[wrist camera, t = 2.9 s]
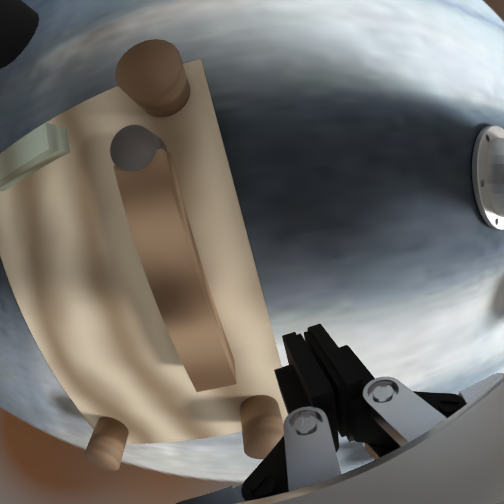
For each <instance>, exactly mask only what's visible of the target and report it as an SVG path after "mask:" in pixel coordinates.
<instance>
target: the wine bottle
mask: <svg viewBox="0 0 504 504" xmlns="http://www.w3.org/2000/svg"><path fill="white" fill-rule="evenodd" d="M38 21H39V17H38V14H37V13H36V12H35V11H34V10H32V9H31V8H30V7H29V6H28V5H26V4H25V3H24V2H23V1H21V0H0V68H3V67H5V66H7V65H8V64H9V63H11V62H12V61H13V60H14V59H15V58H16V57H17V56H18V55H19V54H20V53H21V52H22V51H23V50H24V48H25V47H26V46H27V44H28V43H29V41H30V40H31V38H32V36H33V35H34V33H35V30H36V28H37V26H38Z"/></svg>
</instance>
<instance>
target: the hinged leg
mask: <svg viewBox="0 0 504 504" xmlns="http://www.w3.org/2000/svg"><path fill="white" fill-rule="evenodd" d="M110 155H111V159H112V161H113V163H114V164H115V165H114V166H113V167H114V171H115V175H116V179H117V183H118V187H119V191H120V195H121V198H122V202H123V206H124V209H125V213H126V216H127V220H128V223H129V226H130V230H131V233H132V236H133V239H134V242H135V245H136V248H137V251H138V254H139V257H140V260H141V263H142V266H143V269H144V272H145V274H146V277H147V280H148V283H149V285H150V288H151V291H152V293H153V296H154V299H155V301H156V304H157V306H158V309H159V311H160V314H161V316H162V318H163V321H164V323H165V326H166V328H167V330H168V333H169V335H170V337H171V339H172V342H173V344H174V346H175V348H176V351H177V353H178V355H179V357H180V359H181V361H182V364H183V366H184V368H185V370H186V372H187V374H188V376H189V378H190V380H191V382H192V384H193V386H194V388H195V390H196V392H201V391H206V390H211V389H216V388H221V387H226V386H230V385H235V384H237V382H236V371H235V360H234V358H233V355H232V352H231V349H230V347H229V344H228V341H227V338H226V335H225V332H224V330H223V327H222V324H221V321H220V318H219V315H218V312H217V309H216V306H215V303H214V300H213V297H212V294H211V291H210V288H209V285H208V282H207V279H206V276H205V273H204V270H203V266H202V263H201V260H200V257H199V254H198V250H197V247H196V244H195V240H194V237H193V234H192V230H191V227H190V223H189V220H188V216H187V213H186V209H185V206H184V202H183V199H182V195H181V191H180V188H179V184H178V180H177V177H176V173H175V169H174V165H173V161H172V157H171V154H170V153H168V152H167V150H166V146H165V144H164V142H163V141H162V140H161V139H160V138H159V137H157V136H156V135H155V134H153V133H152V132H150V131H149V130H148V129H146V128H145V127H143V126H140V125H129V126H126V127H124V128H122V129H121V130H120V131H118V132H117V133H116V135H115V136H114V138H113V140H112V142H111V146H110Z"/></svg>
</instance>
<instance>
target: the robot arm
mask: <svg viewBox="0 0 504 504" xmlns="http://www.w3.org/2000/svg"><path fill="white" fill-rule="evenodd" d="M472 180H473V188H474V194H475V198H476V202H477V206H478V208H479V211H480V213H481V215H482V217H483V219H484V221H485V222H486V223H487V224H488V225H489V226H490V227H492V228H495V229H498V230H504V129H502V128H501V127H499V126H487V127H485V128H483V129H482V130H481V131H480V133H479V135H478V136H477V139H476V142H475V145H474V150H473V157H472ZM304 337H305V340H304V338H303V337H302V335H301V334H298V335H296V333H295V332H293V333H290V334H287V335H283V336H282V338H283V342H284V346H285V350H286V354H287V358H288V363H289V365H288V366H285V367H282V368H278V369H275V370H274V372H275V375H276V379H277V382H278V386H279V389H280V392H281V395H282V398H283V401H284V404H285V407H286V410H287V413H288V416H287V417H286V419H285V420H284V425H283V429H284V436H283V437H282V438H281V439H280V441H279V442H278V443H277V444H276V446H275V447H274V448H273V449H272V450H271V452H270V453H269V454H268V455H267V456H266V458H265V459H264V460H263V461H262V462H261V463H260V464H259V466H258V467H257V468H256V469H255V470H254V471H253V472H252V473H251V475H250V476H249V477H248V478H247V479H246V480H245V482H244V483H243V485H240V486H237V487H235V488H233V487H232V486H230V487H228V488H225V489H222V490H219V491H215V492H212V493H209V494H206V495H202V496H199V497H195V498H191V499H188V500H184V501H181V502H179V503H176V504H504V374H503V373H497V374H494V375H492V376H490V377H488V378H486V379H484V380H482V381H480V382H478V383H476V384H474V385H472V386H470V387H468V388H466V389H464V390H461V391H460V392H459V394H458V395H456V394H450V393H429V392H415V391H411V390H410V389H409V388H408V387H406V386H405V385H404V384H402V383H401V382H400V381H399V380H397V379H395V378H392V377H379V378H376V379H375V378H374V377H373V376H372V374H371V373H370V372H369V371H368V369H367V368H366V367H365V366H364V365H363V363H362V362H361V361H360V360H359V358H358V357H357V356H356V355H355V354H354V352H353V351H352V350H351V349H350V347H349V346H347V345H345V346H342V347H340V348H339V347H338V346H337V345H336V343H335V342H334V341H333V339H332V338H331V337H330V336H329V334H328V333H327V332H326V330H325V329H324V328H323V326H322V325H321V324H317V325H314V326H311V327H308V331H307V332H304ZM338 431H339V433H340V435H341V437H344V436H347V438H348V440H349V442H350V441H353V440H355V441H357V442H362V444H363V446H364V448H365V449H366V450H367V451H368V453H369V454H370V455H371V456H372V457H373V458H374V459H375V460H374V461H372V462H370V463H368V464H365V465H363V466H361V467H358V468H356V469H354V470H351V471H349V472H346V473H344V474H341V471H340V467H339V463H338V459H337V455H336V452H337V450H338V449H339V439H338Z"/></svg>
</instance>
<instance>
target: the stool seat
mask: <svg viewBox="0 0 504 504" xmlns="http://www.w3.org/2000/svg"><path fill="white" fill-rule="evenodd" d="M116 81H117V84H118V86H117V87H114V88H112V89H110V90H107V91H105V92H103V93H101V94H98V95H96V96H94V97H92V98H90V99H88V100H86V101H84V102H82V103H80V104H78V105H76V106H74V107H72V108H70V109H69V110H67V111H65V112H63V113H61V114H59V115H58V116H56V117H54V118H53V119H51V120H49V121H47V122H45V123H44V124H42V125H40V126H39V127H37V128H36V129H34V130H33V131H31V132H30V133H28V134H27V135H25V136H24V137H22V138H21V139H19V140H18V141H16V142H15V143H14V144H12V145H11V146H9V147H8V148H7V149H5V150H4V151H3V152H1V153H0V256H1V259H2V262H3V265H4V268H5V271H6V274H7V277H8V280H9V283H10V285H11V288H12V290H13V293H14V295H15V298H16V300H17V303H18V305H19V307H20V310H21V312H22V314H23V316H24V319H25V321H26V323H27V325H28V327H29V329H30V331H31V333H32V335H33V337H34V339H35V341H36V343H37V345H38V347H39V348H40V350H41V352H42V354H43V356H44V357H45V359H46V361H47V363H48V364H49V366H50V368H51V369H52V371H53V373H54V374H55V376H56V377H57V379H58V381H59V382H60V384H61V385H62V387H63V388H64V390H65V391H66V393H67V394H68V396H69V397H70V398H71V400H72V401H73V403H74V404H75V405H76V407H77V408H78V409H79V411H80V412H81V413H82V415H83V416H84V417H85V419H86V420H87V421H88V422H89V424H90V425H91V426H92V427H93V429H94V431H93V434H92V436H91V439H90V441H89V444H88V446H87V449H86V451H85V456H86V458H87V459H88V460H89V461H90V462H92V463H93V464H94V465H96V466H98V467H100V468H103V469H106V470H110V471H115V470H118V469H119V467H120V463H121V459H122V455H123V452H124V448H125V445H126V444H143V443H162V442H175V441H185V440H193V439H201V438H208V437H215V436H221V435H227V434H232V433H238V432H242V435H243V444H244V451H245V453H246V455H248V456H249V457H251V458H255V459H265V458H266V456H267V455H268V454H269V453H270V452H271V450H272V449H273V448H274V447H275V446H276V444H277V443H278V442H279V441H280V439H281V438H282V437H283V436H284V429H283V425H284V424H283V422H284V420H285V419H286V417H287V416H288V413H287V410H286V407H285V404H284V401H283V398H282V395H281V392H280V389H279V386H278V382H277V379H276V375H275V372H274V370H275V369H278V368H282V366H281V362H280V358H279V354H278V350H277V347H276V343H275V339H274V335H273V331H272V328H271V324H270V320H269V316H268V312H267V308H266V305H265V301H264V297H263V293H262V289H261V286H260V282H259V278H258V274H257V270H256V267H255V263H254V259H253V255H252V251H251V248H250V244H249V240H248V236H247V232H246V229H245V225H244V221H243V217H242V213H241V210H240V206H239V202H238V198H237V194H236V190H235V187H234V183H233V179H232V175H231V171H230V168H229V164H228V160H227V156H226V152H225V149H224V145H223V141H222V137H221V133H220V129H219V126H218V122H217V118H216V114H215V110H214V107H213V103H212V99H211V95H210V91H209V88H208V84H207V80H206V76H205V72H204V68H203V65H202V61H201V59H198V60H194V61H190V62H186V63H183V64H182V61H181V58H180V55H179V52H178V50H177V49H176V47H175V46H174V45H172V44H171V43H169V42H167V41H164V40H147V41H144V42H141V43H139V44H137V45H135V46H133V47H132V48H131V49H129V50H128V51H127V52H126V53H125V54H124V55H123V56H122V58H121V59H120V61H119V63H118V66H117V69H116ZM129 125H140V126H143V127H145V128H146V129H148V130H149V131H150V132H152V133H153V134H155V135H156V136H157V137H159V138H160V139H161V140H162V141H163V142H164V144H165V146H166V150H167V152H168V153H170V154H171V157H172V161H173V165H174V169H175V173H176V177H177V180H178V184H179V188H180V191H181V195H182V199H183V202H184V206H185V209H186V213H187V216H188V220H189V223H190V227H191V230H192V234H193V237H194V240H195V244H196V247H197V250H198V254H199V257H200V260H201V263H202V266H203V270H204V273H205V276H206V279H207V282H208V285H209V288H210V291H211V294H212V297H213V300H214V303H215V306H216V309H217V312H218V315H219V318H220V321H221V324H222V327H223V330H224V332H225V335H226V338H227V341H228V344H229V347H230V349H231V352H232V355H233V358H234V360H235V371H236V382H237V384H235V385H230V386H226V387H221V388H216V389H211V390H206V391H201V392H196V390H195V388H194V386H193V384H192V382H191V380H190V378H189V376H188V374H187V372H186V370H185V368H184V366H183V364H182V361H181V359H180V357H179V355H178V353H177V351H176V348H175V346H174V344H173V342H172V339H171V337H170V335H169V333H168V330H167V328H166V326H165V323H164V321H163V318H162V316H161V314H160V311H159V309H158V306H157V304H156V301H155V299H154V296H153V293H152V291H151V288H150V285H149V283H148V280H147V277H146V274H145V272H144V269H143V266H142V263H141V260H140V257H139V254H138V251H137V248H136V245H135V242H134V239H133V236H132V233H131V230H130V226H129V223H128V220H127V216H126V213H125V209H124V206H123V202H122V198H121V195H120V191H119V187H118V183H117V179H116V175H115V171H114V167H113V166H114V165H115V164H114V163H113V161H112V159H111V155H110V146H111V142H112V140H113V138H114V136H115V135H116V133H117V132H118V131H120V130H121V129H122V128H124V127H126V126H129Z"/></svg>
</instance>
